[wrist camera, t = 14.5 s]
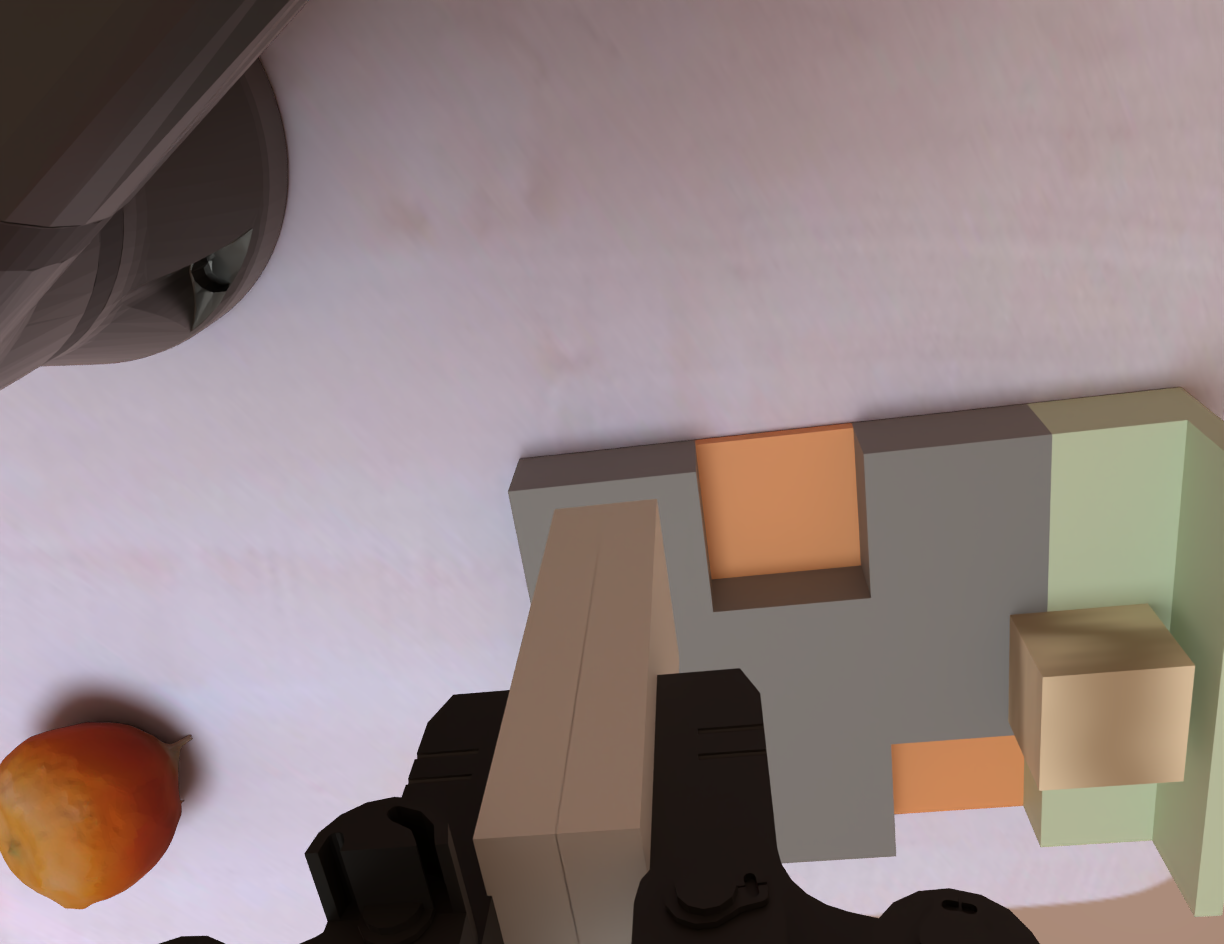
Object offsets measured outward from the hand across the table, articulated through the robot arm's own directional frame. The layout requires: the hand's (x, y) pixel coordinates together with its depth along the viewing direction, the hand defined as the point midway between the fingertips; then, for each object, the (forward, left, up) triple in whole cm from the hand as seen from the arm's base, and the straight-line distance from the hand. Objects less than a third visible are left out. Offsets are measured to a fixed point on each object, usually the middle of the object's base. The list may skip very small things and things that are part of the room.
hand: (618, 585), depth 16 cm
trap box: (+6, -18, -24) cm, 31 cm away
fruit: (-28, -21, -25) cm, 43 cm away
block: (+14, -18, -21) cm, 31 cm away
